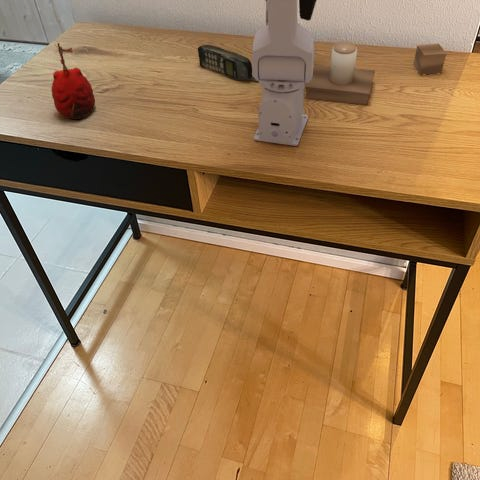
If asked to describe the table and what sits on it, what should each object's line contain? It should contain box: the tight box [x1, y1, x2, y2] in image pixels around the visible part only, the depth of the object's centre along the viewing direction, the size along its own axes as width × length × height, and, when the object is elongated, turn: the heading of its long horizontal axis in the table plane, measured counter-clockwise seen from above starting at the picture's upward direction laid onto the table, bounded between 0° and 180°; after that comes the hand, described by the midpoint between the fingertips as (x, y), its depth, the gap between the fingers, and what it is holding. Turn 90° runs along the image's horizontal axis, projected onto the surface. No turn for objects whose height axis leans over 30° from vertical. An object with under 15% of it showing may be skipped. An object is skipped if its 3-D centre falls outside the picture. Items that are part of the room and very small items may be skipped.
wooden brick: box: [305, 64, 376, 106], centre depth 99 cm, size 9×12×2 cm
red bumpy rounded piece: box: [50, 43, 96, 120], centre depth 93 cm, size 8×7×15 cm
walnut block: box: [412, 43, 447, 76], centre depth 103 cm, size 4×4×4 cm
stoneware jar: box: [329, 41, 358, 85], centre depth 96 cm, size 5×5×6 cm
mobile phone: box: [197, 44, 260, 83], centre depth 105 cm, size 5×3×15 cm
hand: (294, 26), depth 98 cm, fingers open, 7 cm apart
